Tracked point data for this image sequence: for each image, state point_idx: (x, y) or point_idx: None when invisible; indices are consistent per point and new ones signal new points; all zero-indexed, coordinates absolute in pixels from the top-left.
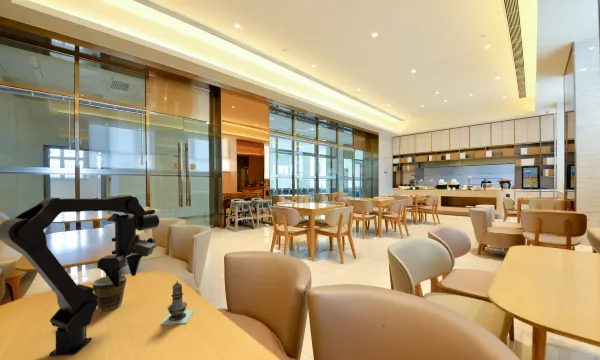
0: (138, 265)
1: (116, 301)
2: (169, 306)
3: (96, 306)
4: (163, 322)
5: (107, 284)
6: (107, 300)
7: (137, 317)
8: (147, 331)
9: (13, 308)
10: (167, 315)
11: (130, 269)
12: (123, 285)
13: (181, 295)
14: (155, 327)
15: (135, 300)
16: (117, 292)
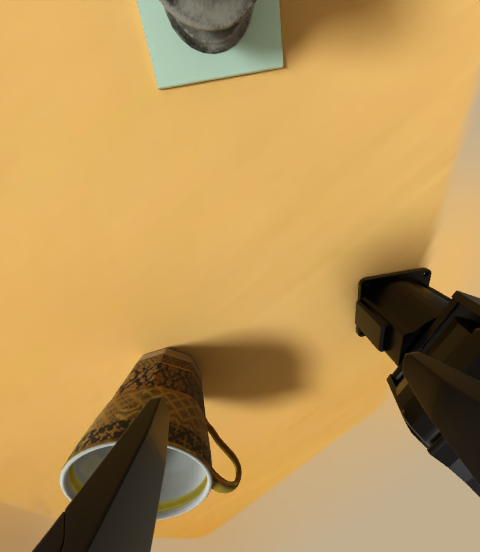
0: (74, 505)
1: (171, 366)
2: (221, 12)
3: (464, 329)
4: (269, 55)
5: (197, 459)
6: (195, 389)
7: (223, 231)
8: (330, 104)
9: (211, 524)
10: (201, 79)
11: (156, 492)
12: (128, 410)
13: None
14: (300, 83)
15: (102, 331)
16: (165, 393)
